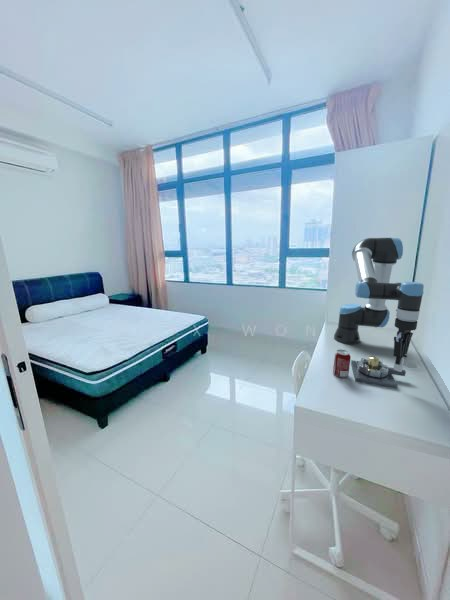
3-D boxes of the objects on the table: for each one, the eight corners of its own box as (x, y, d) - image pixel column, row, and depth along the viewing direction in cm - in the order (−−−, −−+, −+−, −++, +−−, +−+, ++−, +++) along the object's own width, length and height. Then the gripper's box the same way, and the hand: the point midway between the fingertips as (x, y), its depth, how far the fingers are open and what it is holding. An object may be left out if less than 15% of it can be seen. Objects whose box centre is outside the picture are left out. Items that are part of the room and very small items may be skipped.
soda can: (349, 379, 114) (352, 355, 112) (334, 377, 116) (337, 354, 113) (346, 372, 121) (348, 349, 118) (331, 370, 122) (333, 348, 119)
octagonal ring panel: (359, 374, 114) (360, 367, 113) (356, 362, 125) (357, 356, 124) (408, 382, 108) (410, 374, 107) (400, 369, 118) (401, 362, 118)
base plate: (350, 363, 129) (352, 347, 127) (386, 369, 124) (388, 352, 121) (355, 381, 113) (357, 363, 111) (396, 388, 107) (399, 370, 105)
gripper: (402, 314, 109) (394, 363, 115) (389, 319, 102) (381, 370, 107) (423, 318, 103) (413, 369, 109) (410, 324, 96) (401, 378, 101)
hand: (397, 370), depth 108 cm, fingers closed
